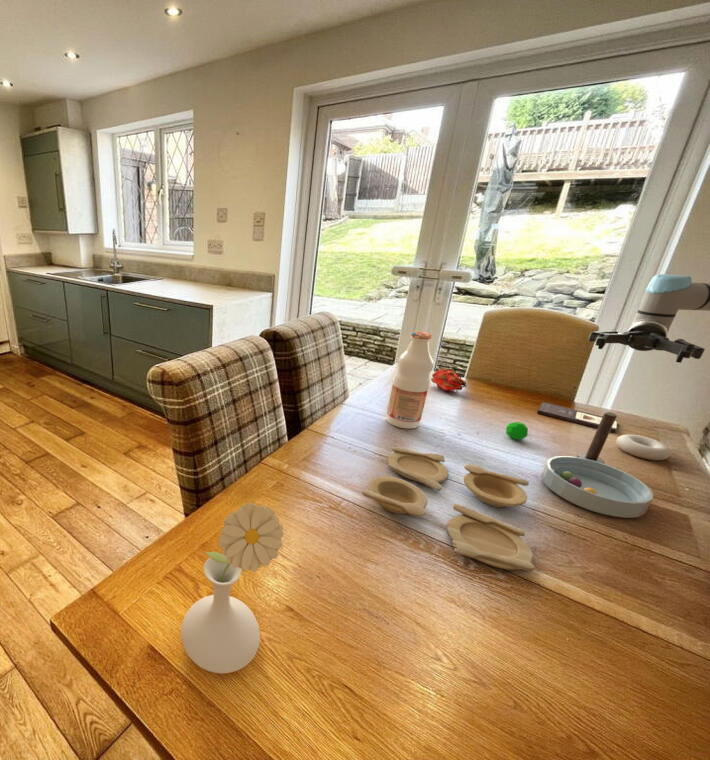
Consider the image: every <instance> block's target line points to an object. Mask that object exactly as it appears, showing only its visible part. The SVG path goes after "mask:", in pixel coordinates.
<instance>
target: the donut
mask: <svg viewBox="0 0 710 760" xmlns="http://www.w3.org/2000/svg"><path fill="white" fill-rule="evenodd" d="M615 441H616V446H617V447H618V448H619V449H620V450H622V451H624V452H625V453H627V454H629V455H632V456H634V457H637V458H641V459H645V460H649V461H664V460H667V459H668V458H669V457H671V455H672V451H671V449H670V448H669V447H668V446H667V445H666V444H664V443H663V442H660V441H659V440H657V439H654V438H650V437H648V436H644V435H638V434H629V433H628V434H627V433H626V434H622V435H620V436H618V437H617V438H616V440H615Z"/></svg>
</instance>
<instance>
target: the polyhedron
mask: <svg viewBox="0 0 710 760" xmlns="http://www.w3.org/2000/svg"><path fill="white" fill-rule="evenodd" d="M505 429H506V430H505V434H506V435H507V436H508V438H510V439H513V440H515V441H516V440H523V439H525V438H526V437H528V432H529V428H528V426H527V425H526V424H524V423H523V422H520V421H515V422H510V423H508V424H507V425H506V428H505Z"/></svg>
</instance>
